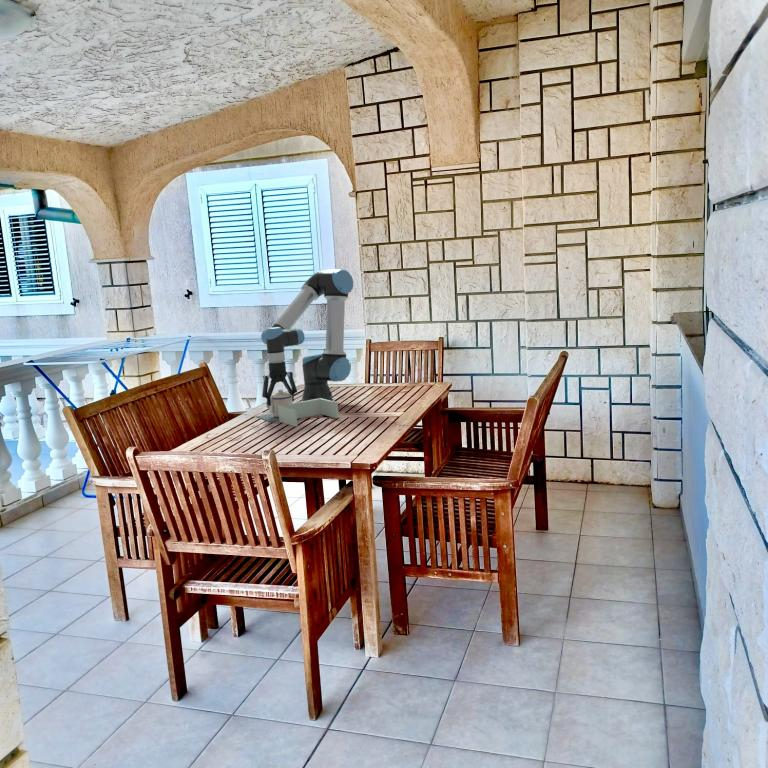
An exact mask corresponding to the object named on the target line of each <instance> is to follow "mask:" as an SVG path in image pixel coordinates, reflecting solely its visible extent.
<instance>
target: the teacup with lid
mask: <svg viewBox="0 0 768 768" xmlns="http://www.w3.org/2000/svg"><path fill="white" fill-rule="evenodd" d="M271 398H272V400H273V410H274V413H273V416H274V417H279V413H278V406H280V405H286V404H291V395H290V394H289V393H287V392H285V391H283V389H278V392H276V393H274V394H272V395H271ZM265 406H266V408H267V409H268V410H269V406H268V405H267V401H266V405H265Z"/></svg>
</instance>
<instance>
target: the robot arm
mask: <svg viewBox="0 0 768 768" xmlns="http://www.w3.org/2000/svg"><path fill="white" fill-rule="evenodd" d="M353 288H354V279H353V276H352V275H351V274H350V272H349V271H348V270H346V269H342V268H341V269H340V268H333V269H322V270H319V271H317V272H315V273H314V274H312V276H310V277H309V278H308V279H307V280H306V281H305V282H304V283H303V285H302V286H301V288H300V290H301V291H300V292H299V293H298V294H297V296H296V297H295V298H294V300H292V301H291V302H290V304H289V305H288V306H287V308H286V309H285V310H284V312H283V313H282V314H281V315H280V316H279V317H278V319H277V320H276V321H275V323H273V324H272V326H271V327H267V328H266V329H264V330H263V331H262V333H261V336H260V338H261V341H262V343H263V344H264V345H266V350H267V352H266V353H267V360H268V372H269V373H268V374H267V375H262V378H263V385H262V394H261V396H262V398H264V399H266V402H267V405H268V406H269V409H268V410H269V413H270V414H272V413H274V410H273V400H272V398H271V396H272V395H273V391H274V388H275V385H277V383H282V384H283V386H284V387H285V389H286V390H287V392H288V394H290V395H291V403H294V401H295V394H296V393H298V390H297V389H298V388H297V386H296V383H295V380H294V375H293V374H294V372H293V371H287V366H286V361H285V360H286V358H285V357H286V355H285V348H286V347H293V346H298V345H302V344H303V343H304V341H305V338H306V337H305V332H304V331H303V330H302V329H301V328H293V327H294V325H295V324H296V323H297V321H298V320H299V319H300V318H301V317H302V315H303V314H304V313H305V312H306V311H307V309H308V308H309V307H310V306H311V304H312V303H313V302H314V301H317V300H318V299H319V298H320V297H321V296H323V297H324V299H325V300H326V325H325V327H326V328H325V329H326V331H325V350H324V351H323V352H322V353H318V354H317V353H316V354H313V355H307V356H304V357H302V364H301V365H302V366H301V367H302V374H303V383H304V388H303V391H302V397H301V402H302V401H308V400H313V399H319V398H322V399H326V400H330V401H333V393H332V391H331V389H330V386H329V383H328V382H333V383H334V382H335V383H336V382H343V381H345V380H346V379H347V378H348V377H349V376H350V374H351V371H352V365H351V362H350V360H349V359H348V358H347V353H346V352H345V350H344V340H345V339H344V338H345V337H344V334H345V310H346V309H345V307H346V305H345V304H346V301H347V300H348V299H349V293H351V292H352V290H353ZM286 377H287V378H288V380H287V379H286ZM270 379H271V380H270ZM269 380H270V384H269ZM288 381H289V383H288Z"/></svg>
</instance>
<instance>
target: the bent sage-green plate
mask: <svg viewBox="0 0 768 768" xmlns="http://www.w3.org/2000/svg"><path fill="white" fill-rule="evenodd" d="M338 403H339V402H338V401H333V400H326V399H322V398H319V399H313V400H308V401H302V400H301V401H297V402H293V403H291V404H286V405H280V406H278V413H279V421H278V422H281V423H282V424H286V425H289V426H292V427H299V426H298V419H302V418H307V417H311V416H313V417H314V416H317V415H324V416H327V417H329V418H330V417H331V418H333V419H334V418H335V419H339V418H340V416H339V415H340V414H339V404H338Z"/></svg>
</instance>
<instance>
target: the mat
mask: <svg viewBox="0 0 768 768" xmlns="http://www.w3.org/2000/svg"><path fill="white" fill-rule="evenodd" d="M255 417H256V418H257V419H260V420H264V421H267V422H270V423H278V422H280V421H279V417H274V416H273V413H267V414H263V415H262V414H261V415H257V416H255Z"/></svg>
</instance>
